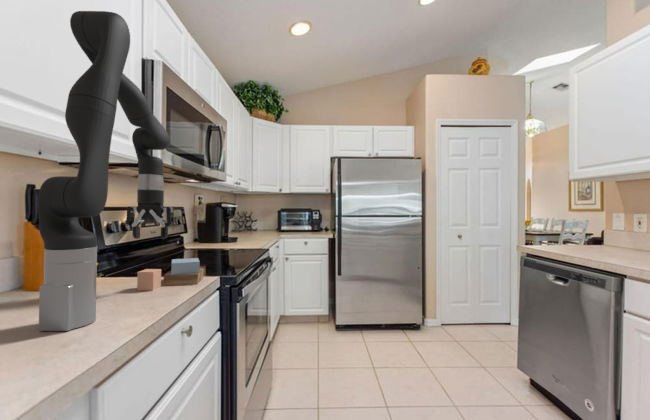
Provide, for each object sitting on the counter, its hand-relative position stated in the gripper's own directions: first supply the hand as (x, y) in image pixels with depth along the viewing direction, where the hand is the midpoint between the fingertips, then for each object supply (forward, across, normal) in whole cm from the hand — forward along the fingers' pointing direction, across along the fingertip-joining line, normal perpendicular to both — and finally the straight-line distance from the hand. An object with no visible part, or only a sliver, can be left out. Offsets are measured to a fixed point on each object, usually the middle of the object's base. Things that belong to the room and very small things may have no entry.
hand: (150, 238), depth 100 cm
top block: (+13, +7, +11) cm, 18 cm away
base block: (+17, +7, +11) cm, 21 cm away
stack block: (+16, 0, 0) cm, 16 cm away
